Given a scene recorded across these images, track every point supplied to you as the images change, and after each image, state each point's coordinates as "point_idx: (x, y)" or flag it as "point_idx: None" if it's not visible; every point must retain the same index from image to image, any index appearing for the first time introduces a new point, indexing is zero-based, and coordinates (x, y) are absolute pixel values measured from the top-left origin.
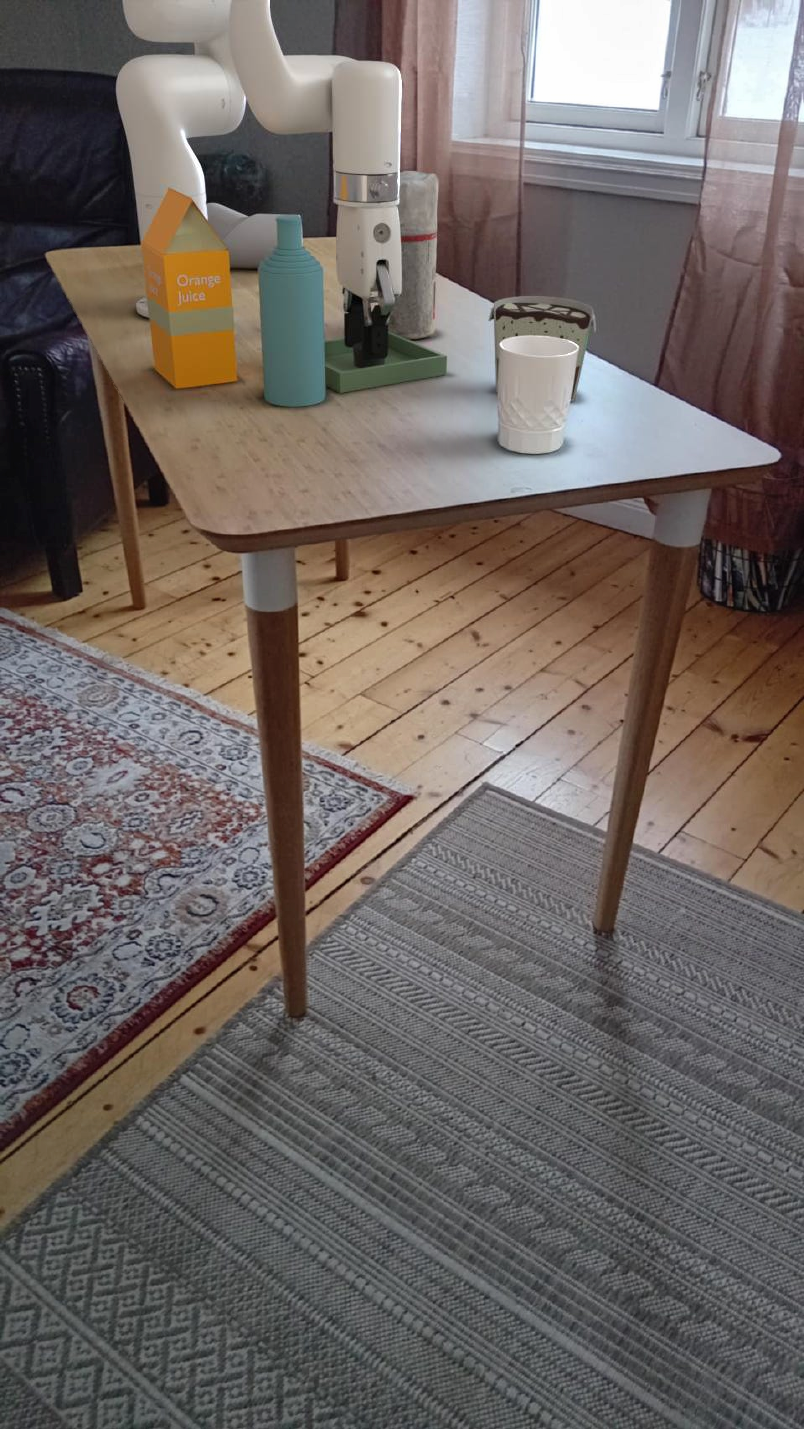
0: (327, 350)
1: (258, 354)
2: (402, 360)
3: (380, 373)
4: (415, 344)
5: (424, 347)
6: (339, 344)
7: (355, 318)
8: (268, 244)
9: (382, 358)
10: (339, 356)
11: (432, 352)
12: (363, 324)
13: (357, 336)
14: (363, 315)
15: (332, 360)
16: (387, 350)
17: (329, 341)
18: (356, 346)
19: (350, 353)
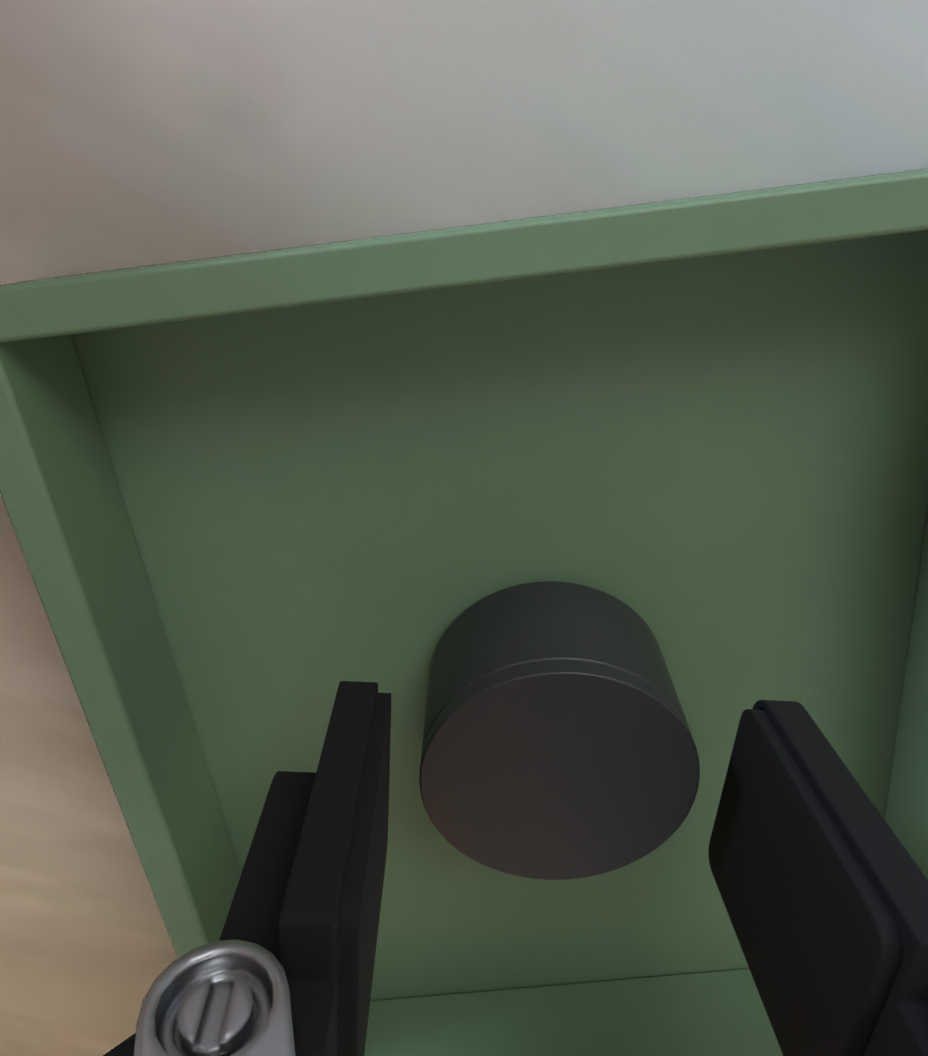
0: (214, 855)
1: (11, 1047)
2: (536, 394)
3: None
4: (556, 268)
5: (715, 230)
6: (179, 799)
7: (362, 1012)
8: None
9: (664, 663)
10: (256, 766)
11: (905, 229)
12: (371, 878)
13: (382, 836)
14: (359, 969)
15: None
16: (820, 733)
17: (186, 892)
18: (523, 857)
19: (203, 678)
